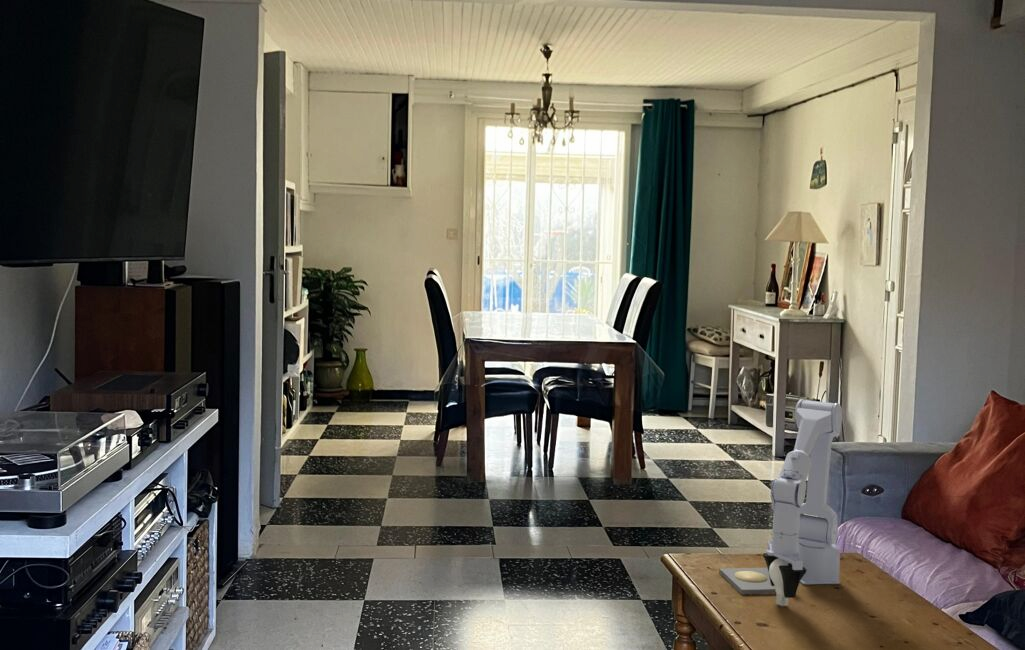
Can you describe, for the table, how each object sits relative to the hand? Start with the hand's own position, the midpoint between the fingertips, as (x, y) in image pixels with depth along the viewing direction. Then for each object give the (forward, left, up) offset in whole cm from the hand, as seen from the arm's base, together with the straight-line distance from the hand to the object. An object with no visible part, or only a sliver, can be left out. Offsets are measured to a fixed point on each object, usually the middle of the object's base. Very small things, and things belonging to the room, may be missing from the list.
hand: (782, 591), depth 219 cm
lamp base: (0, -15, -3) cm, 15 cm away
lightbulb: (0, 0, -4) cm, 4 cm away
